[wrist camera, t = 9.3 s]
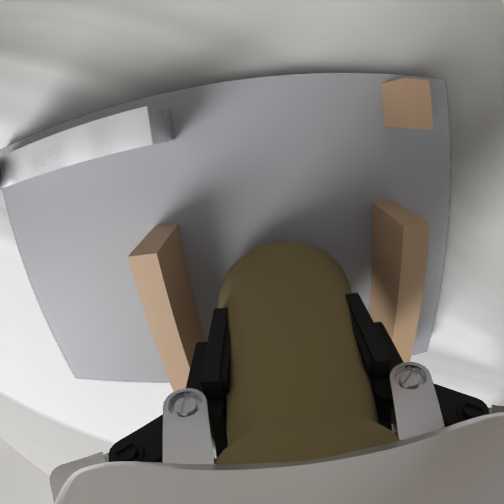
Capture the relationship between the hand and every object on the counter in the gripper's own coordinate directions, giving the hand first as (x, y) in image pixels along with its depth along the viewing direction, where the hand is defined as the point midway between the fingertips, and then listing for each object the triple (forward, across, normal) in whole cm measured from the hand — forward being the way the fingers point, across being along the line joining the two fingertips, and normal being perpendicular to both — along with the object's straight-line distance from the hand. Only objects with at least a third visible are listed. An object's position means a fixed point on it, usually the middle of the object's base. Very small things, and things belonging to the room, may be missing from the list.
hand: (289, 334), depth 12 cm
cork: (+2, 0, 0) cm, 2 cm away
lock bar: (+4, +9, -8) cm, 13 cm away
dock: (+5, +3, -2) cm, 6 cm away
